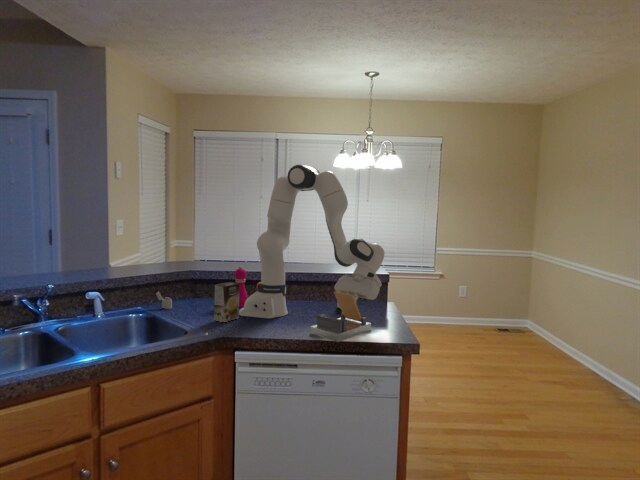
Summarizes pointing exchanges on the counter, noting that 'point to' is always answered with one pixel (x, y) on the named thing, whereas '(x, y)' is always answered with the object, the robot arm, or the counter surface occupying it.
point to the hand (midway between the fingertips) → (348, 303)
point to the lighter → (165, 301)
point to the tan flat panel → (348, 306)
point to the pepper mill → (241, 285)
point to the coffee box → (226, 302)
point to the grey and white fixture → (339, 327)
